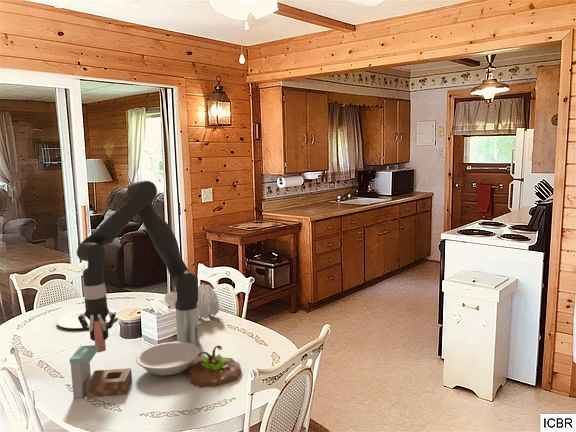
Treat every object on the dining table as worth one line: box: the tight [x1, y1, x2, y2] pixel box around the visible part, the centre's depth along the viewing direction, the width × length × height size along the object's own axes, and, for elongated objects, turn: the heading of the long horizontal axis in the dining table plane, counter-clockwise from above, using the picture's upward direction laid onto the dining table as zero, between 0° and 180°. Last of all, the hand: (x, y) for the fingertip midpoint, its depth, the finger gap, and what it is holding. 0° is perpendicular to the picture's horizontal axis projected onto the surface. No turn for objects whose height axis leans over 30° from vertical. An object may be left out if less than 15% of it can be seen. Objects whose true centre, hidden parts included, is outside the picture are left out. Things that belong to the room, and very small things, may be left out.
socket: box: [86, 367, 133, 398], centre depth 168 cm, size 13×10×5 cm
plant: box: [186, 345, 242, 389], centre depth 178 cm, size 20×20×11 cm
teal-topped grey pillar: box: [69, 344, 99, 399], centre depth 167 cm, size 6×11×14 cm, turn 6°
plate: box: [56, 307, 119, 330], centre depth 239 cm, size 29×29×2 cm
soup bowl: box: [135, 341, 201, 376], centre depth 182 cm, size 24×24×7 cm
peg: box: [93, 321, 107, 353], centre depth 176 cm, size 4×4×12 cm
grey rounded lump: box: [164, 282, 221, 320], centre depth 235 cm, size 18×18×25 cm
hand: (99, 339), depth 177 cm, fingers closed on peg, 3 cm apart
